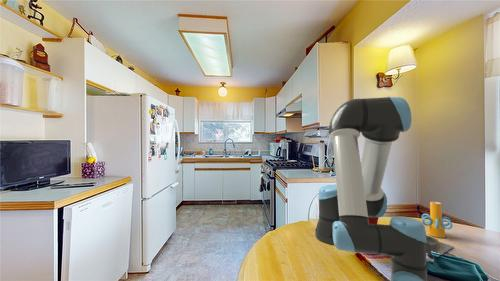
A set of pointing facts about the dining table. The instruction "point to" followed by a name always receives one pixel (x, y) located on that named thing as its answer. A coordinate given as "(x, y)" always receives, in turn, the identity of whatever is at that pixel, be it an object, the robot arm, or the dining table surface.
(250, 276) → the dining table surface
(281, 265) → the dining table surface
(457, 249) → the dining table surface
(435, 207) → the cylinder
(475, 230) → the dining table surface
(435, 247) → the duct plate
